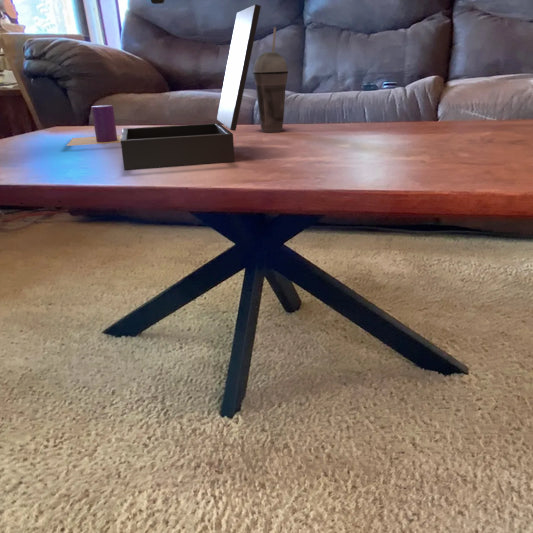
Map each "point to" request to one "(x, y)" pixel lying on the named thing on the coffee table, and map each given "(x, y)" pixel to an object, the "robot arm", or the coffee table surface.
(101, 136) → the purple cylinder
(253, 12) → the lid
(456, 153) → the coffee table surface
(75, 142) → the cork mat
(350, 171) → the coffee table surface
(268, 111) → the beverage cup
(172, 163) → the box
